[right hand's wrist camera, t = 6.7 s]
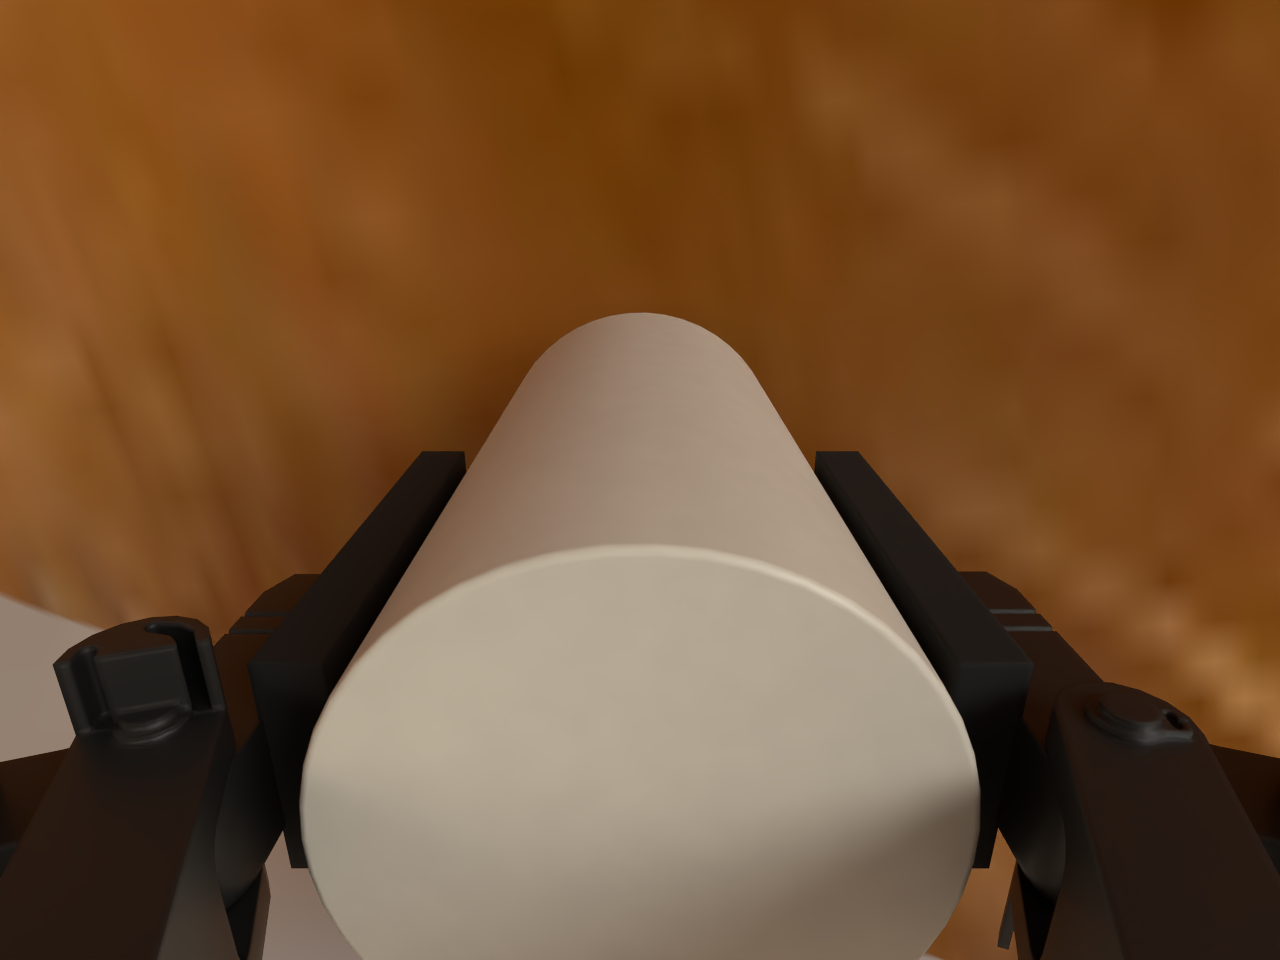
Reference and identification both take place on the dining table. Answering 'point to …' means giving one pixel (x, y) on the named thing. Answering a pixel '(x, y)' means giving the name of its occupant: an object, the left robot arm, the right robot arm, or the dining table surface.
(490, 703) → the canister
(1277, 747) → the dining table surface
